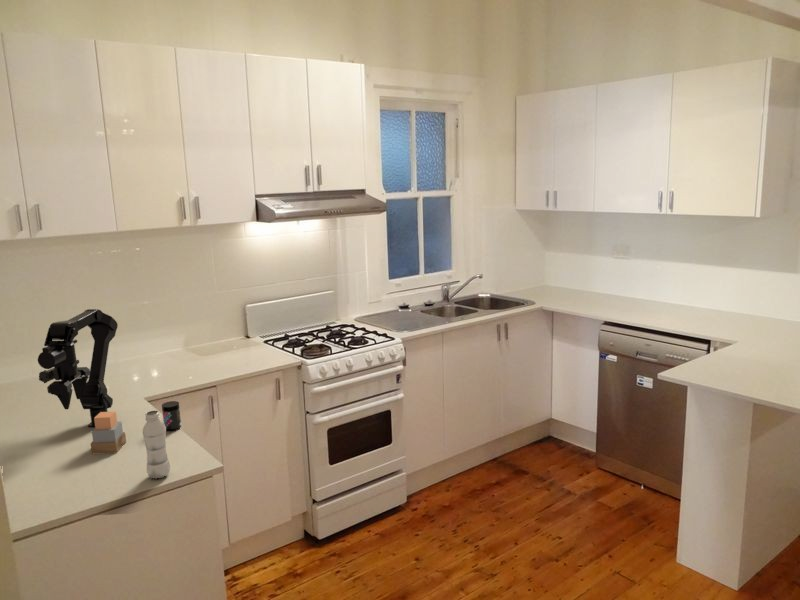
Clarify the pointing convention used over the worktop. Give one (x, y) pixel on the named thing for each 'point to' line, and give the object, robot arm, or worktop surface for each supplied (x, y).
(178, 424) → the supplement container
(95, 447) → the walnut base block
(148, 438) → the plastic bottle
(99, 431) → the slate top block
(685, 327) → the worktop surface
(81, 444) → the worktop surface
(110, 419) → the terracotta block
